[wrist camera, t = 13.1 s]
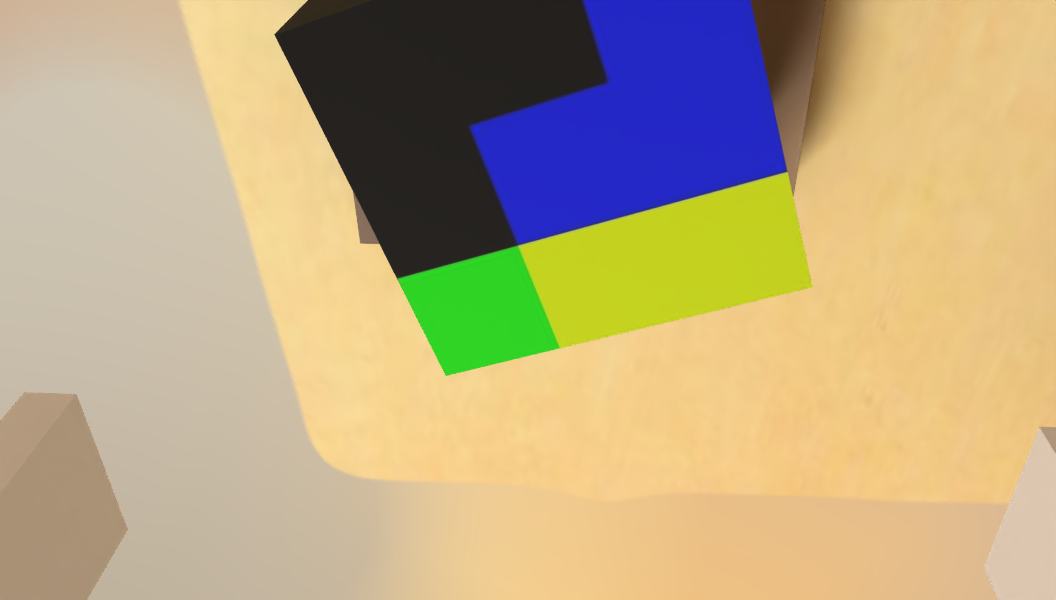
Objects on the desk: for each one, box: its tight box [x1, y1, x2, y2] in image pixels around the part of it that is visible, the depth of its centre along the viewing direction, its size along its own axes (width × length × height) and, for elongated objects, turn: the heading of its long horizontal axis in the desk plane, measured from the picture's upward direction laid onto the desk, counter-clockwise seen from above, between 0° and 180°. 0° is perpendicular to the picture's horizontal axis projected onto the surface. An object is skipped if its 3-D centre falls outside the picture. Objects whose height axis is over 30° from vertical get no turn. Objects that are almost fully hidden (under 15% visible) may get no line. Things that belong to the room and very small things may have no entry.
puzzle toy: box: [274, 0, 812, 376], centre depth 25 cm, size 10×10×10 cm
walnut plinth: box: [353, 0, 825, 244], centre depth 31 cm, size 16×16×4 cm
